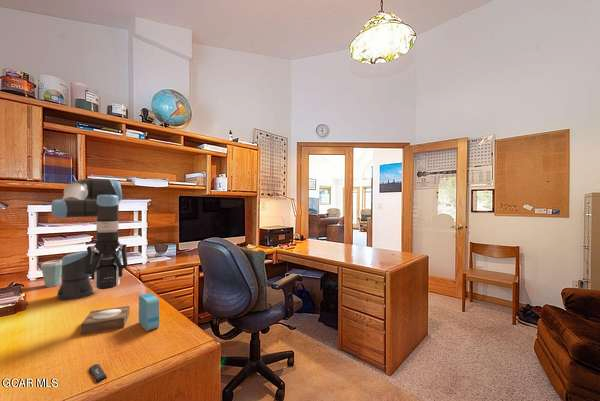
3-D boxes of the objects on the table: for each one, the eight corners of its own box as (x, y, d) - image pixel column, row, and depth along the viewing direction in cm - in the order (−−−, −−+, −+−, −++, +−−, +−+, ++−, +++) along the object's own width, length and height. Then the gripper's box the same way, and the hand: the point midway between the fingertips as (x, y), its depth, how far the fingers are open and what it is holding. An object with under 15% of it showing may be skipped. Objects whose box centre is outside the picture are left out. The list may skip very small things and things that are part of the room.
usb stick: (88, 371, 80) (88, 366, 80) (98, 367, 82) (98, 362, 82) (96, 384, 74) (96, 379, 74) (107, 380, 76) (107, 374, 76)
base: (91, 320, 114) (91, 310, 114) (129, 314, 120) (129, 305, 120) (80, 335, 101) (80, 323, 101) (123, 327, 107) (123, 317, 107)
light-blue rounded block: (159, 328, 106) (159, 298, 106) (146, 332, 103) (147, 301, 103) (150, 319, 115) (150, 291, 115) (138, 322, 112) (138, 294, 112)
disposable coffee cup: (52, 288, 157) (52, 263, 157) (34, 288, 157) (35, 263, 157) (68, 283, 167) (68, 259, 168) (51, 282, 168) (52, 259, 168)
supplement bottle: (106, 290, 106) (106, 260, 106) (92, 289, 108) (92, 260, 108) (121, 284, 113) (120, 257, 113) (108, 284, 114) (107, 256, 114)
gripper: (74, 233, 103) (74, 292, 103) (133, 231, 112) (133, 285, 111) (81, 231, 110) (80, 286, 110) (136, 229, 118) (135, 280, 118)
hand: (107, 285), depth 110 cm, fingers closed on supplement bottle, 7 cm apart
